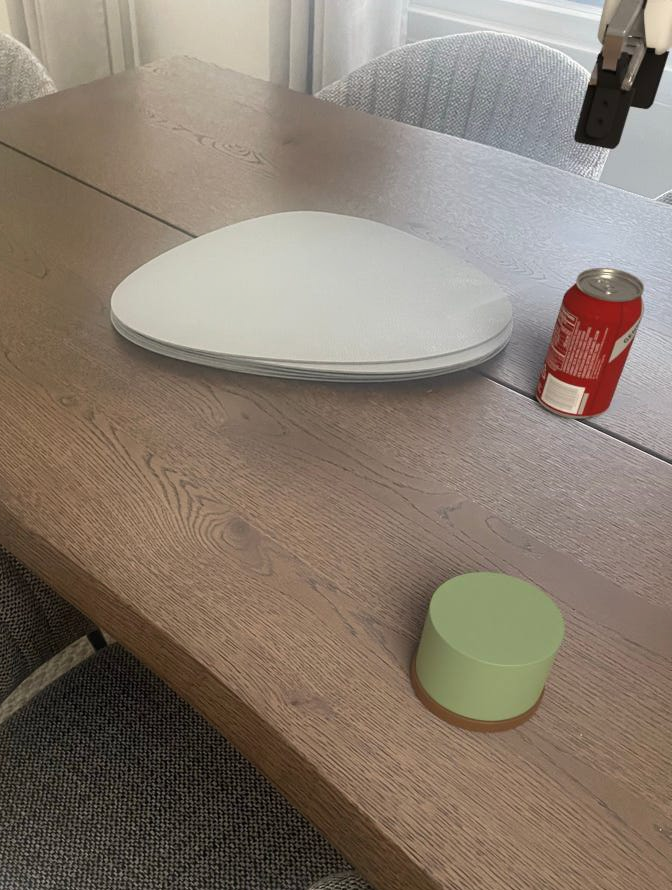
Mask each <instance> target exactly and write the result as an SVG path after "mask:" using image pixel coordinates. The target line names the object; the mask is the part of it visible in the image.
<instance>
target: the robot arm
mask: <svg viewBox="0 0 672 890" xmlns="http://www.w3.org/2000/svg"><path fill="white" fill-rule="evenodd" d="M597 39H598V41H599V43H600V44H601V46H602V47H601V48H600V51H599V53H598V54H597V57H596V61H595V64H594V66H593V70H592V71H591V74H590V77H589V81H588V83H587V87H586V90H585V94H584V98H583V100H582V105H581V109H580V113H579V117H578V120H577V123H576V124H577V125H576V128H575V132H574V138H573V139H574V141H575V142H576V143H577V144H581V145H586V146H587V145H588V146H593V147H598V148H604V149H608V150H614V149H616V148H617V147H618V146H619V144H620V143H621V139H622V135H623V131H624V129H625V125H626V123H627V120H628V116H629V112H630V110H631V108H635V109H642V110H648V109H650V108H651V107H652V106H653V104H654V103H655V99H656V96H657V93H658V90H659V87H660V83H661V80H662V78H663V73H664V70H665V69H666V68H665V67H666V64H667V61H668V58H669V55H670V50H671V48H672V0H604V3H603V8H602V12H601V15H600V21H599V26H598V31H597Z"/></svg>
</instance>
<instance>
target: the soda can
mask: <svg viewBox="0 0 672 890" xmlns="http://www.w3.org/2000/svg"><path fill="white" fill-rule="evenodd" d="M644 290H645V286H644V283H643V282H642V280H640V279H639V278H638V277H637V276H635V275H633V274H631V273H630V272H626V271H623V270H620V269H616V268H609V267H594V268H588V269H586V270H583V271H581V272H580V273H578V275H577V276H576V281H575V283H574V284H573V285H572V286H570V288H568V289H567V290H566V291H565V292H564V294H563V297H562V300H561V304H560V307H559V310H558V313H557V318H556V320H555V324H554V327H553V332H552V334H551V338H550V340H549V344H548V347H547V351H546V354H545V358H544V361H543V365H542V368H541V371H540V375H539V379H538V382H537V385H536V388H535V398H536V399H537V401H538V402H539V404H540V405H542V407H544V408H545V409H547V411H549V412H551V413H553V414H555V415H557V416H559V417H562V418H565V419H573V420H582V419H590V418H596V417H599V416H601V415H603V414H604V413H607V411H608V410H609V408H610V406H611V403H612V401H613V398H614V395H615V392H616V390H617V387H618V385H619V382H620V379H621V377H622V374H623V371H624V368H625V365H626V362H627V360H628V357H629V354H630V353H631V349H632V347H633V343H634V340H635V338H636V335H637V332H638V330H639V327H640V325H641V321H642V318H643V316H644V313H645V309H646V308H645V302H644V300H643V297H642V295H643V293H644Z"/></svg>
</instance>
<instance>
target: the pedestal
mask: <svg viewBox="0 0 672 890" xmlns="http://www.w3.org/2000/svg"><path fill="white" fill-rule="evenodd" d="M565 627H566V626H565V622H564V618H563V614H562V612H561V611H560V609H559V607H558V606H557V604H556V603H555V601H553V600H552V599H551V597H550V596H548V595H547V594H546V593H545V592H543V590H541V589H540V588H538V587H537V586H535V585H533V584H532V583H530V582H528V581H525V580H524V579H522V578H518V577H516V576H512V575H509V574H505V573H500V572H493V571H476V572H475V571H474V572H467V573H463V574H459V575H456V576H453V577H451V578H449V579H447V580H446V581H445V582H443V583H441V584H440V586H438V587H437V589H436V590H435V591H434V592H433V594H432V596H431V599H430V602H429V605H428V609H427V612H426V618H425V621H424V625H423V628H422V633H421V636H420V641H419V645H418V646H417V648H416V649H415V652H414V654H413V657H412V662H411V665H410V670H409V671H410V672H409V673H410V675H409V677H410V683H411V686H412V689H413V691H414V693H415V695H416V697H417V698H418V700H419V701H420V703H421V704H422V705H423V706H424V707H425V708H426V709H427V710H428V711H429V712H430V713H431V714H433V715H434V716H436V717H437V718H439V719H440V720H442V721H444V723H445V722H446V723H447V724H449V725H451V726H454V727H457V728H460V729H462V730H465V731H470V732H478V733H501V732H506V731H510V730H513V729H516V728H518V727H519V726H522V725H523V724H525V723H527V722H528V721H529V720H530V719H531V718H532V717H533V716H535V714H536V713H537V711H538V709H539V707H540V706H541V703H542V700H543V698H544V695H545V691H546V682H547V680H548V677H549V675H550V672H551V670H552V667H553V665H554V663H555V660H556V658H557V655H558V652H559V650H560V647H561V645H562V643H563V642H564V641H563V640H564V637H565V629H566V628H565Z"/></svg>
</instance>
